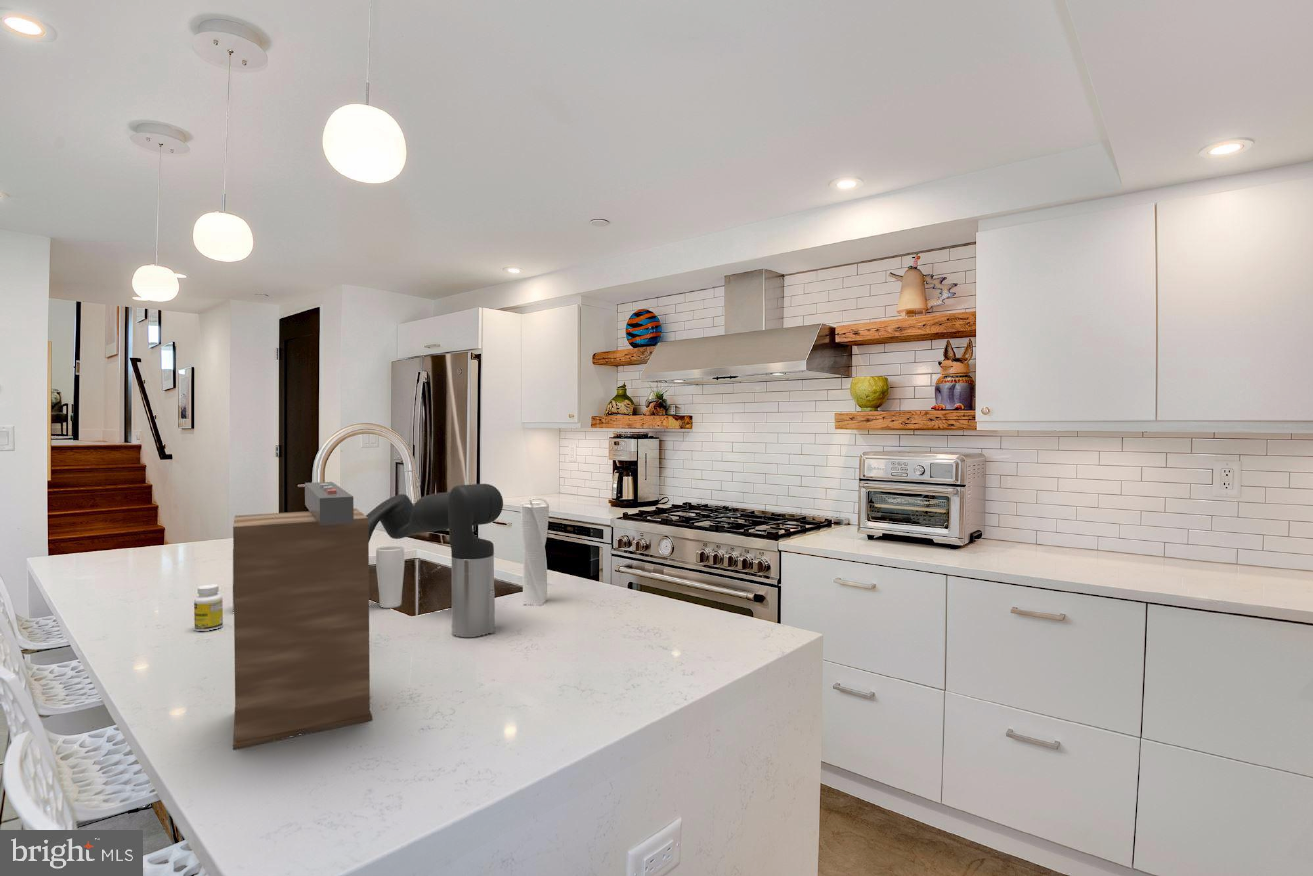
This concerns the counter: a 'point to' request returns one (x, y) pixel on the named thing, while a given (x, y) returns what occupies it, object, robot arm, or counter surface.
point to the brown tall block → (299, 625)
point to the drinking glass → (390, 575)
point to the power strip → (329, 503)
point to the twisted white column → (534, 551)
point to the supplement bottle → (208, 608)
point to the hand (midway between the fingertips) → (316, 521)
